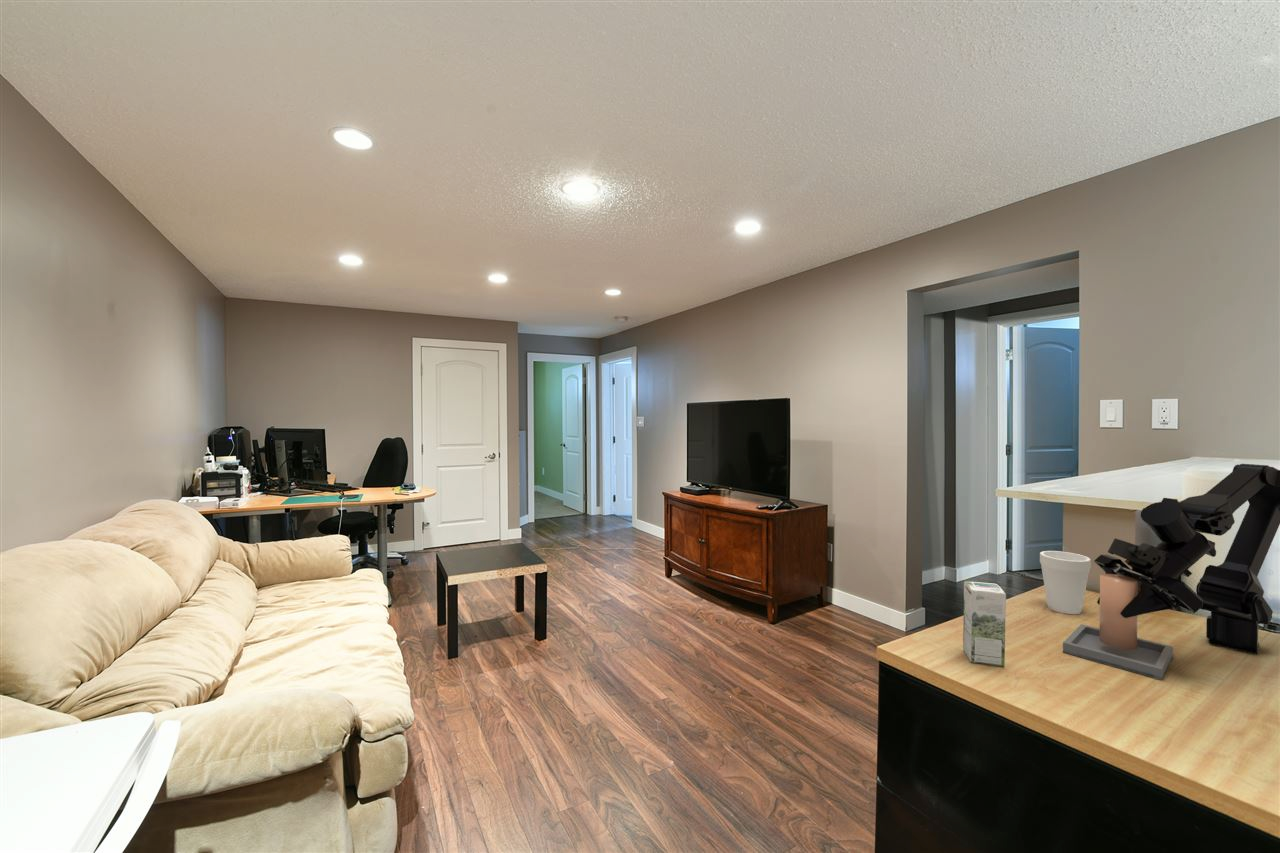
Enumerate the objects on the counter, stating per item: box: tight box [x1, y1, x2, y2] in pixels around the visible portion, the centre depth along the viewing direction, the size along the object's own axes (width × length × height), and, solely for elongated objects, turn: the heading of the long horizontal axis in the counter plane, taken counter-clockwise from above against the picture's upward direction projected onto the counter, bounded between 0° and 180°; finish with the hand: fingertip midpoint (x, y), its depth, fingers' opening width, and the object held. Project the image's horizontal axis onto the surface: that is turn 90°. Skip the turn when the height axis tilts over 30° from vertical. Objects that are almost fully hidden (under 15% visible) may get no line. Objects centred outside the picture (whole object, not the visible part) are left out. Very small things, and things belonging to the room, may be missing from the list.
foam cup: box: [1039, 550, 1092, 615], centre depth 126 cm, size 10×9×13 cm
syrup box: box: [962, 580, 1007, 667], centre depth 101 cm, size 6×6×14 cm
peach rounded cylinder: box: [1098, 573, 1139, 650], centre depth 102 cm, size 6×6×13 cm
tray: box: [1062, 623, 1174, 681], centre depth 103 cm, size 14×14×2 cm
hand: (1110, 610), depth 103 cm, fingers closed on peach rounded cylinder, 5 cm apart
